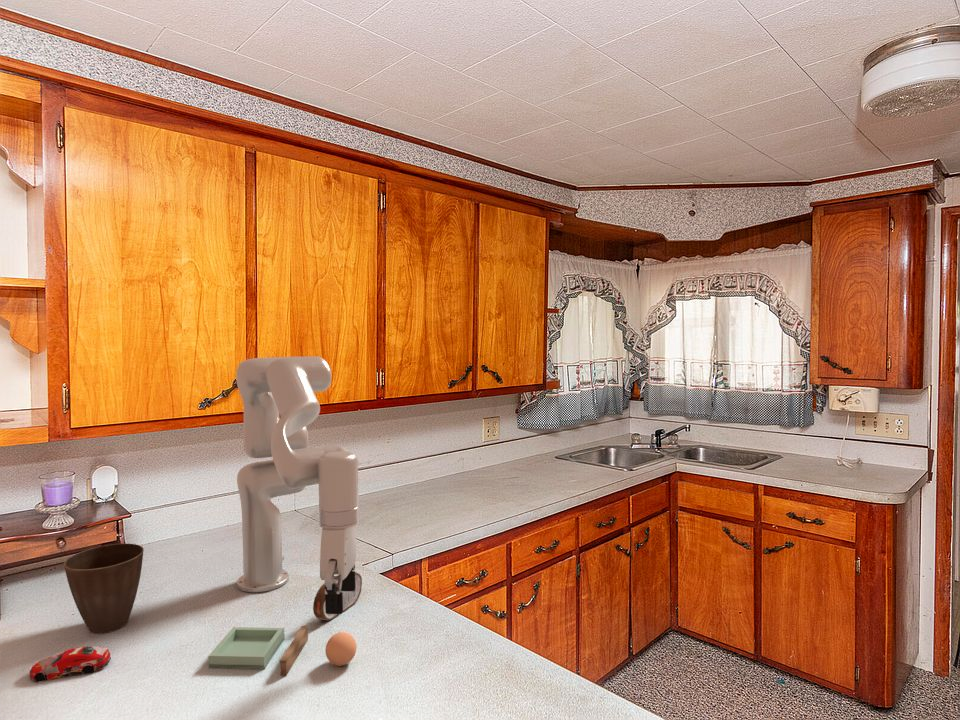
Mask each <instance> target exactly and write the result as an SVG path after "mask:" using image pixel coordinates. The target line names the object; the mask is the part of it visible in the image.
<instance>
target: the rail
mask: <svg viewBox="0 0 960 720" xmlns="http://www.w3.org/2000/svg"><path fill="white" fill-rule="evenodd" d="M308 641H309V627H308V625H302V626H301V627H300V629H299V630H298V631H297V634H296V635H295V637H294V638H293V639H292V641H291V643H290V644H289V646H288V647H287V649H286V651H285V652H284V654H283V655H282V657H281V658H280V660H279V676H280V677H281V676H283V677H285V676H286V677H287V676H288V674H289V672H290V670H291V669H292V668H293V665H295V662H296V661H297V659H298V657H299V656H300V654H301V652H302V650H303V649H304V648H305V645H306V644H307V643H308Z"/></svg>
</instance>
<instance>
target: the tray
mask: <svg viewBox="0 0 960 720" xmlns="http://www.w3.org/2000/svg"><path fill="white" fill-rule="evenodd" d="M284 641H285V627H256V626H255V627H252V626H251V627H250V626H248V627H247V626H246V627H244V626H243V627H241V626H237V627H236V626H233V627H232V628H231V629H230V630H229V632H228V633H227V634H226V635H225V636H224V637H223V639H221V641H220V642H219V643H218V644H217V645H216V646H215V648H214V649H213V650H212V651H211V652H210V654H209V655H208V660H207V661H208V669H227V670H229V669H231V670H234V669H235V670H238V669H239V670H240V669H241V670H265V669H266V667H267V666H268V664H269V663H270V661H271V660H272V659H273V657H274V655H275V654H276V652H278V650H279V648H280V647H281V645H282V644H283V642H284Z"/></svg>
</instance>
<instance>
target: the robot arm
mask: <svg viewBox="0 0 960 720" xmlns="http://www.w3.org/2000/svg"><path fill="white" fill-rule="evenodd" d="M235 375H236V376H235V378H236V379H235V381H236V386H237V388H238V392H239V395H240V397H241V399H242V403H243V404H242V405H243V448H244V453H245V454H246V455H247V456H248V457H250V458H252V459H264V458H272V459H271V460H270V459H269V460H263V461H262V460H261V461H256V462H251V463H248V464H245V465H244V466H242V467H241V468H240V470H239V471H238V472H237V475H236V484H237V489H238V494H239V500H240V507H241V526H242V527H241V529H242V532H241V533H242V534H241V535H242V562H243V566H242V569H243V574H242V575H241V576H239V578H238V579H237V581H236V582H237V583H236V586H237V588H238V589H239V590H241V591H243V592H248V593H263V592H264V593H265V592H268V591H273V590H275V589H277V588H280V587H282V586H284V585H286V584H287V583H288V581H289V580H290V574H289V572H288V571H287V570H285V569H283V561H284V560H285V556H284V555H283V547H282V546H283V543H282V542H283V539H282V538H283V537H282V513H281V510H280V509H279V508H278V506H276V504H274V503H273V502H272V499H273V498H277V497H282V496H288V495H292V494H297V493H300V492H303V491H304V490H305V489H306V487H307V486H308V487H309V486H313V485H315V486H316V485H318V509H319V510H318V511H319V512H318V514H319V515H318V516H319V518H318V519H319V527H320V528H322V529H321V537H320V538H321V539H320V554H319V557H320V558H319V560H320V561H319V578H320V580H322V581H324V583H325V610H326V614H339V615H342V614H343V613H344V612H343V592H341V591H355V589H356V586H355V572H356V571H355V570H356V564H355V563H356V560H357V536H356V526H357V525H358V524H359V522H360V505H359V503H360V502H359V463H358V457H357V455H356V454H355V453H354V452H351V451H347V449H346V448H345V447H344V446H343V445H339V444H328V445H321V446H318V445H317V446H313V447H312V446H309V445H310V444H309V443H310V439H309V431H308V428H307V426H309V425H311V424H312V423H313V422H314V421H315V420H316V419H317V418H318V416H319V415H320V412H321V406H320V405H321V404H320V403H319V401H318V398H317V396H316V394H315V393H319V392H326V391H327V390H328V389H329V388H330V386H331V383H332V377H333V375H332V370H331V368H330V365H329V363H328V362H327V361H326V360H325V359H324V358H323V357H321V356H317V355H316V356H314V355H313V356H280V357H275V356H272V357H271V356H270V357H269V356H268V357H253V358H248V359H245V360H242V361H241V362H240V363H239V364H238V366H237V369H236V373H235ZM338 575H339V576H338ZM334 581H338V585H337V586H336V584H335V583H333V582H334Z"/></svg>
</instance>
